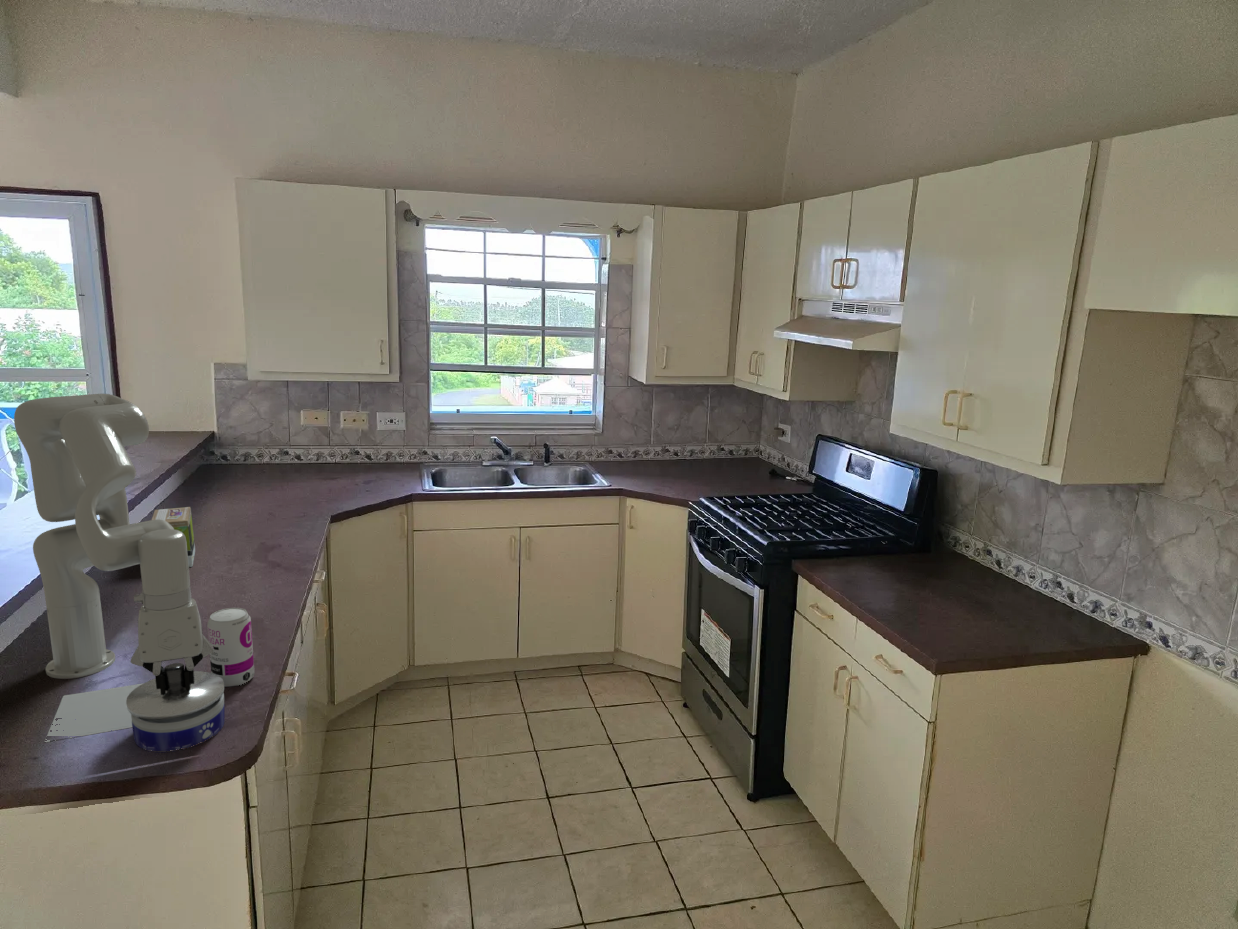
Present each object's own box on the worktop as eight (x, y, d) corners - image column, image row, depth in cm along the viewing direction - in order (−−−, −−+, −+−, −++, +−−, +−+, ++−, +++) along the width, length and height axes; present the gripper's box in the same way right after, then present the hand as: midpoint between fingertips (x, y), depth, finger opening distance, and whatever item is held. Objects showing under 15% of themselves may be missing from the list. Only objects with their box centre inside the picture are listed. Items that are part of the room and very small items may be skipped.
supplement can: (260, 670, 174) (256, 607, 170) (244, 689, 166) (239, 623, 162) (223, 670, 173) (218, 606, 170) (205, 689, 165) (199, 622, 162)
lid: (131, 684, 152) (128, 655, 151) (224, 670, 159) (222, 642, 157) (121, 726, 138) (118, 695, 137) (224, 709, 145) (221, 679, 143)
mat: (63, 697, 160) (63, 695, 160) (165, 681, 168) (165, 680, 167) (44, 744, 144) (44, 742, 144) (158, 724, 152) (157, 722, 152)
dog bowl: (186, 760, 141) (184, 730, 140) (112, 745, 144) (110, 715, 143) (242, 716, 156) (241, 688, 154) (174, 703, 158) (172, 675, 157)
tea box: (158, 555, 241) (154, 508, 238) (196, 551, 245) (192, 505, 242) (153, 571, 228) (149, 522, 225) (193, 567, 232) (189, 519, 229)
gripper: (111, 611, 137) (122, 707, 141) (218, 599, 144) (225, 691, 148) (117, 596, 144) (127, 688, 148) (218, 584, 151) (225, 673, 155)
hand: (176, 688), depth 148 cm, fingers open, 3 cm apart
